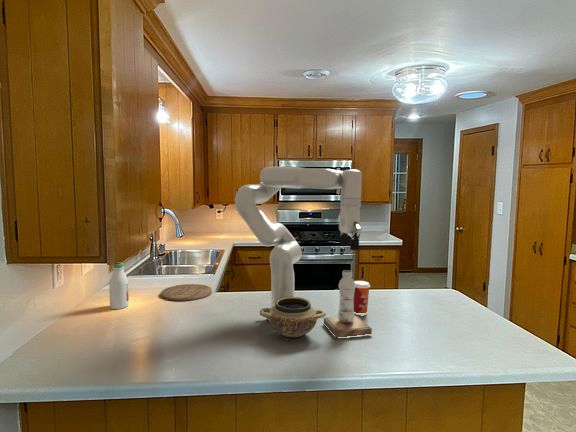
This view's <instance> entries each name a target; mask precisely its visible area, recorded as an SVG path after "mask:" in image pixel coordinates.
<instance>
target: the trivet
mask: <svg viewBox="0 0 576 432" xmlns="http://www.w3.org/2000/svg"><path fill="white" fill-rule="evenodd" d="M212 291H213V289H212V287H210V286H208V285H206V284H198V283H195V284H194V283H186V284H185V283H183V284H178V285H173V286H169V287H166V288H164V289H162V290H161V293H160V297H161V299H163V300H166V301H171V302H192V301H198V300H202V299H205V298H208V297H209V296H211V295H212V293H213V292H212Z"/></svg>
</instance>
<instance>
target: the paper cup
mask: <svg viewBox="0 0 576 432" xmlns="http://www.w3.org/2000/svg"><path fill="white" fill-rule="evenodd" d="M354 282H355V292H354V300H353V305H354V312H356V313H366V312H367V313H368V306H369V305H368V304H369V296H370V295H369V294H370V293H369V292H370V288H371V285H370V283H369V282H368V281H365V280H354Z"/></svg>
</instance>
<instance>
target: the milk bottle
mask: <svg viewBox="0 0 576 432" xmlns="http://www.w3.org/2000/svg"><path fill="white" fill-rule="evenodd" d="M120 263H121V264H119V265H113V264H112V269H113V271H112V274H111V276H110V278H109V283H108V284H109V287H108V288H109V291H108V292H109V308H110V309H112V310H122V309H125V308H128V306H129V305H130V303H129V302H130V301H129V300H130V299H129V281H128V277H127V275H126V273H125V271H124V268H125V264H124V262H120Z"/></svg>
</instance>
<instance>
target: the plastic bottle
mask: <svg viewBox="0 0 576 432" xmlns="http://www.w3.org/2000/svg"><path fill="white" fill-rule="evenodd" d="M341 274H342V277H341V279H340V280H339V283H338V290H339V306H338V307H339V308H338V311H337V317H338V319H339V321H340V322H342V323H351V322H353V320H354V317H355V314H354V305H353V300H354V292H355V282H354V281H355V280H354V278H352V277H353V271H352V270H350V269H349V270H348V269H346V270H345V269H344V270H342V273H341Z"/></svg>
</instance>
